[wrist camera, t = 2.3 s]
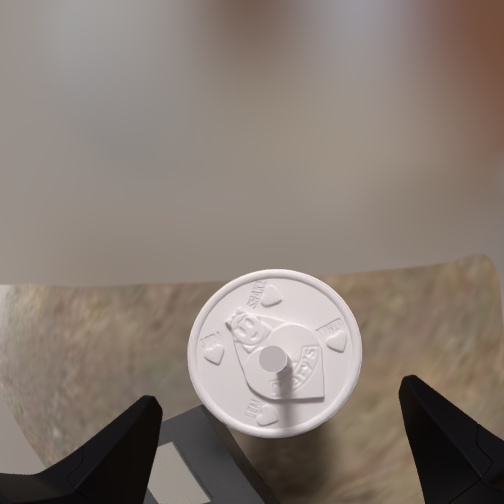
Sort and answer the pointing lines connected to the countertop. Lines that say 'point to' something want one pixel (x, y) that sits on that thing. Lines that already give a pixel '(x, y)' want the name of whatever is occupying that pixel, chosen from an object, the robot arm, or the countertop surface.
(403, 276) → the countertop surface
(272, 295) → the smoothie
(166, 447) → the label box
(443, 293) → the countertop surface
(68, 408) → the countertop surface
